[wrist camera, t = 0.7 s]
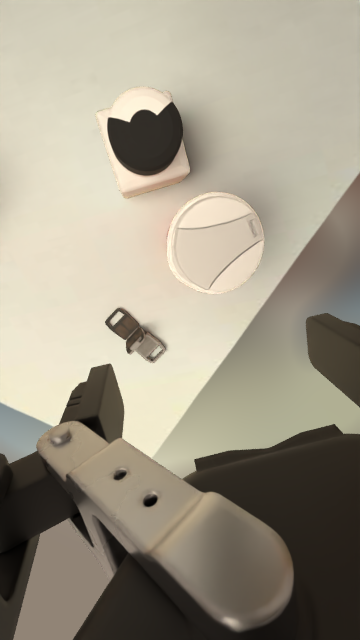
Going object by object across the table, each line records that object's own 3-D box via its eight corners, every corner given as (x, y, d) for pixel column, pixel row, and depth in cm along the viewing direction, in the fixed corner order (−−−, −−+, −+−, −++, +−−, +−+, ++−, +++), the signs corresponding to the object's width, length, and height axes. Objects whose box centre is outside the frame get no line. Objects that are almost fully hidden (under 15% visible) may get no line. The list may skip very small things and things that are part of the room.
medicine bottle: (182, 181, 38) (201, 163, 26) (123, 199, 38) (117, 188, 26) (164, 114, 36) (176, 62, 24) (102, 132, 35) (84, 88, 24)
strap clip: (167, 347, 43) (170, 360, 39) (152, 363, 44) (153, 377, 40) (119, 305, 41) (117, 314, 37) (103, 322, 41) (99, 332, 37)
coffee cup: (206, 190, 38) (246, 169, 24) (234, 253, 41) (285, 268, 27) (144, 223, 39) (147, 222, 24) (175, 284, 41) (195, 315, 27)
